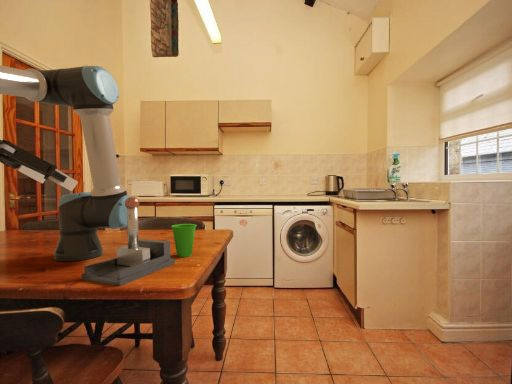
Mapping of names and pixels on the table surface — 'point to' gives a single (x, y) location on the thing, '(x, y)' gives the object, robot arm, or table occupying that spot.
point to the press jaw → (132, 238)
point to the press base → (122, 273)
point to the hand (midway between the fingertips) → (59, 182)
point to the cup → (184, 238)
